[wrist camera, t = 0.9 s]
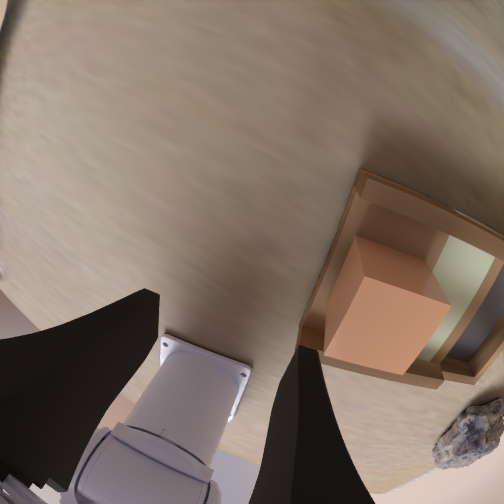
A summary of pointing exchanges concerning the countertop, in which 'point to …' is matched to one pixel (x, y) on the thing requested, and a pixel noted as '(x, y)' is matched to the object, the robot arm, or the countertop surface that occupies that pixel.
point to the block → (382, 308)
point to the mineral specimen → (471, 436)
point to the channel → (443, 267)
